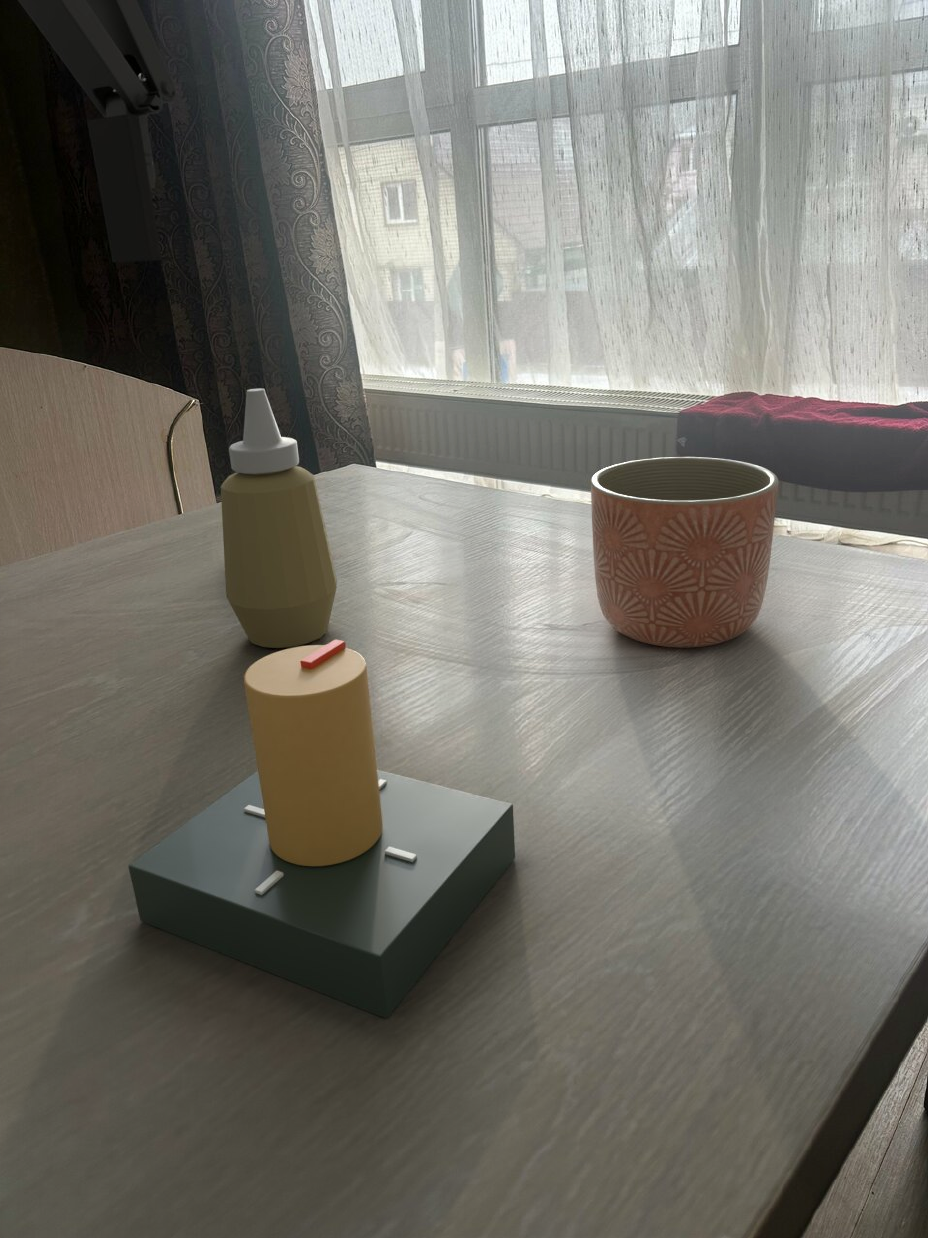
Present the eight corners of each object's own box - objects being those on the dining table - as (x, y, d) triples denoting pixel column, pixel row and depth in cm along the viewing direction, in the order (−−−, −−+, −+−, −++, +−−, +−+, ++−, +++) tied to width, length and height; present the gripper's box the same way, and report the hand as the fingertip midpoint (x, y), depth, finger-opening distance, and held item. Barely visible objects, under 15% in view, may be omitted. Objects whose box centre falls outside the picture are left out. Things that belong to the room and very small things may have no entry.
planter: (558, 618, 72) (555, 474, 68) (689, 584, 77) (694, 448, 73) (663, 678, 62) (667, 513, 58) (806, 634, 67) (820, 480, 63)
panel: (140, 921, 43) (126, 862, 41) (295, 796, 51) (288, 744, 50) (387, 1020, 36) (379, 953, 35) (515, 858, 45) (513, 801, 44)
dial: (338, 880, 40) (315, 698, 36) (245, 848, 42) (216, 676, 39) (404, 817, 44) (389, 648, 40) (316, 791, 46) (295, 630, 43)
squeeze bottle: (351, 646, 69) (324, 392, 63) (237, 665, 67) (196, 405, 61) (333, 607, 77) (306, 376, 70) (230, 624, 75) (192, 387, 68)
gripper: (90, -205, 47) (165, 257, 55) (-607, -491, 27) (-333, 295, 35) (205, -248, 44) (266, 252, 52) (-499, -612, 24) (-223, 291, 32)
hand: (23, 271), depth 44 cm, fingers open, 13 cm apart
